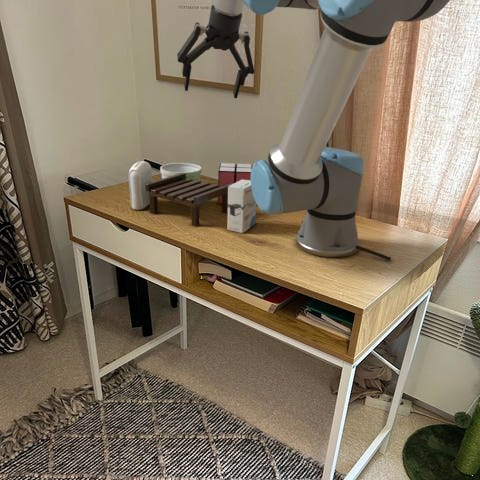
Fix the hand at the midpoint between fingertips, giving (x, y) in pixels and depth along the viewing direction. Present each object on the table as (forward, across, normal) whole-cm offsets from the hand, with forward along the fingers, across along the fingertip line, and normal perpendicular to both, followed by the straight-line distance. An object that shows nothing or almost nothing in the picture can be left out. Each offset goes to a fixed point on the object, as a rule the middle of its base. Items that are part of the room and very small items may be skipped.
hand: (210, 91), depth 132 cm
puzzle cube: (+28, -12, +11) cm, 32 cm away
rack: (+25, +3, +21) cm, 33 cm away
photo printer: (+30, +16, +14) cm, 37 cm away
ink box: (+18, -9, +32) cm, 38 cm away
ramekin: (+35, +3, 0) cm, 35 cm away
